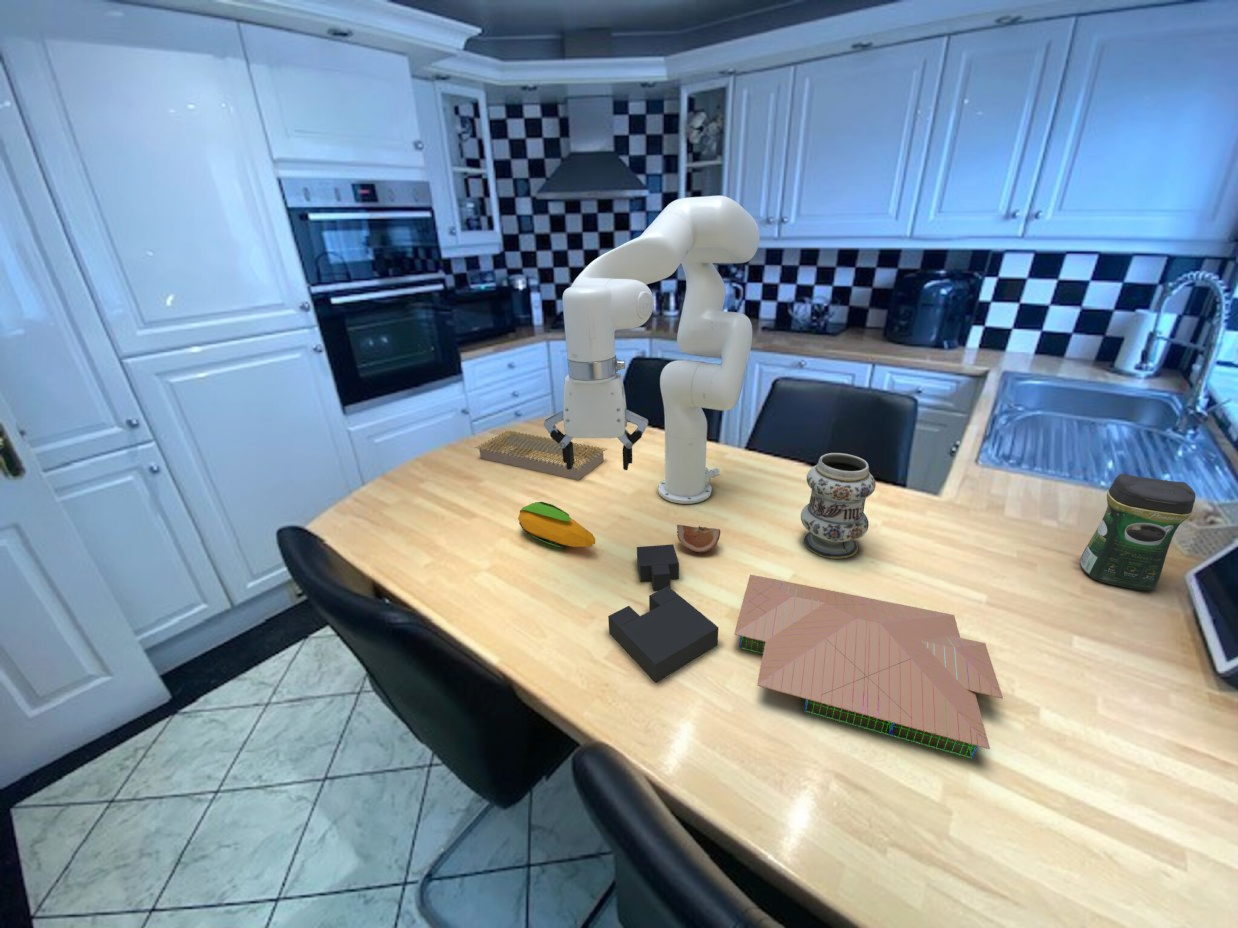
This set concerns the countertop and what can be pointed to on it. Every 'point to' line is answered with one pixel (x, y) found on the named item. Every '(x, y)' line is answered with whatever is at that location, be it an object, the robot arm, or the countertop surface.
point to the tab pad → (658, 565)
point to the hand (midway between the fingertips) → (598, 466)
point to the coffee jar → (1137, 531)
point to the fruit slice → (698, 537)
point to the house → (869, 659)
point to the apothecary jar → (837, 505)
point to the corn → (553, 526)
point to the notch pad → (663, 633)
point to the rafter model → (541, 444)
